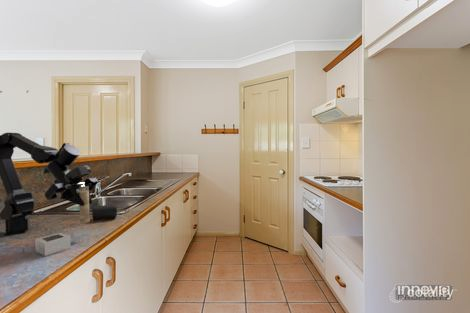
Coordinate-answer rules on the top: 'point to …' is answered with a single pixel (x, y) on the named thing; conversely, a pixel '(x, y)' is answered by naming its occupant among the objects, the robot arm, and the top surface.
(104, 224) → the top surface
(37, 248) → the socket block
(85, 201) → the slotted cylinder
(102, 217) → the end cap
